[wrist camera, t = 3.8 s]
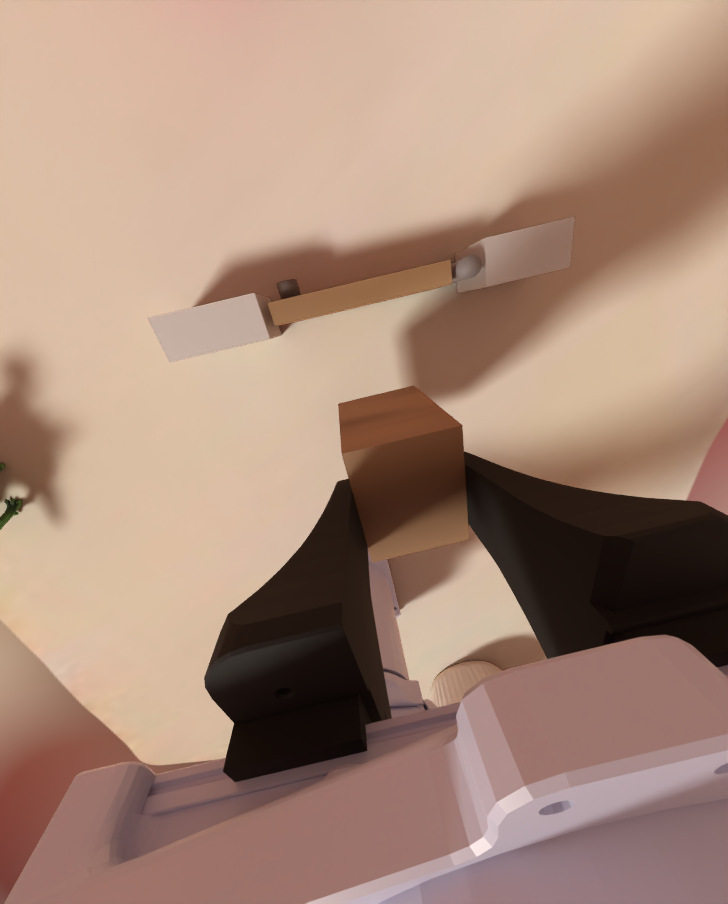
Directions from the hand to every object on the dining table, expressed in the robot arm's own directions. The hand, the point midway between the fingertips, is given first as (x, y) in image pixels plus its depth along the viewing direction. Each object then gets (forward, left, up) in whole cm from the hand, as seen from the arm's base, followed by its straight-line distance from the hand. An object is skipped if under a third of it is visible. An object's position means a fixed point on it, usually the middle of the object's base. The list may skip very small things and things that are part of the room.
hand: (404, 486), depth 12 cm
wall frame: (+8, 0, -9) cm, 12 cm away
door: (+8, 0, -9) cm, 12 cm away
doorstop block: (0, 0, -4) cm, 5 cm away
